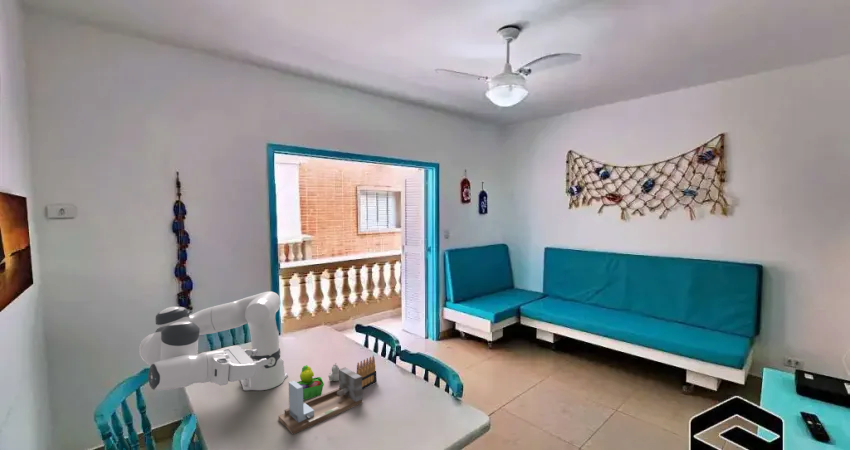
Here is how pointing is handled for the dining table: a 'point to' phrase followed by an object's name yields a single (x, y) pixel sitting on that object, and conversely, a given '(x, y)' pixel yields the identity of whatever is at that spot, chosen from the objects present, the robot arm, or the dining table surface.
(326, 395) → the base
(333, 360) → the dining table surface
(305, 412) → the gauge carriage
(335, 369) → the grey figurine
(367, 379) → the ammunition clip
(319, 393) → the fruit basket
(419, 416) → the dining table surface
